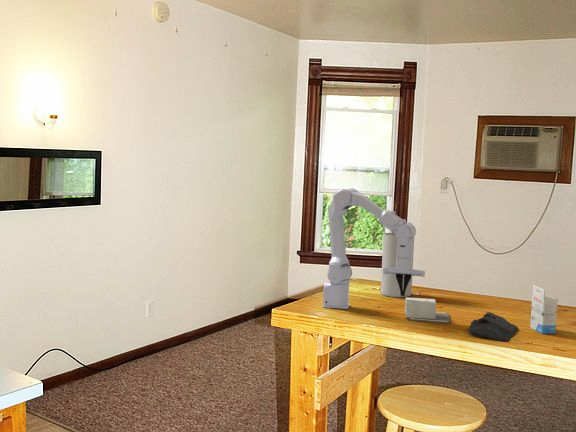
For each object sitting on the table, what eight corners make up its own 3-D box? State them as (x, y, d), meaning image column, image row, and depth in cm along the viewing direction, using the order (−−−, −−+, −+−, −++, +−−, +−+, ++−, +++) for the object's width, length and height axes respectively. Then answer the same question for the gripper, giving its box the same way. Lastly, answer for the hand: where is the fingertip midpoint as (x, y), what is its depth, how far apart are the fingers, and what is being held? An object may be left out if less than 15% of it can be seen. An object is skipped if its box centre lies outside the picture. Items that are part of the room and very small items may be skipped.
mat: (408, 320, 222) (408, 318, 222) (409, 311, 236) (409, 309, 236) (450, 323, 219) (450, 322, 219) (448, 314, 233) (448, 312, 233)
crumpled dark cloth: (459, 337, 205) (460, 322, 204) (473, 322, 224) (474, 309, 224) (510, 344, 198) (511, 329, 197) (519, 329, 217) (520, 315, 217)
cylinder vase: (413, 298, 259) (416, 236, 257) (382, 297, 259) (385, 235, 257) (408, 292, 271) (411, 233, 269) (378, 291, 272) (381, 232, 269)
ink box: (556, 334, 210) (559, 289, 209) (541, 334, 210) (544, 289, 208) (543, 327, 219) (546, 284, 217) (529, 327, 218) (532, 284, 217)
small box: (404, 317, 224) (435, 319, 222) (405, 301, 224) (436, 303, 222) (404, 312, 232) (434, 314, 230) (405, 297, 232) (435, 299, 230)
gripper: (425, 257, 229) (423, 294, 230) (384, 254, 232) (382, 291, 233) (425, 259, 222) (423, 298, 223) (383, 257, 225) (381, 295, 226)
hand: (402, 295), depth 228 cm, fingers closed
